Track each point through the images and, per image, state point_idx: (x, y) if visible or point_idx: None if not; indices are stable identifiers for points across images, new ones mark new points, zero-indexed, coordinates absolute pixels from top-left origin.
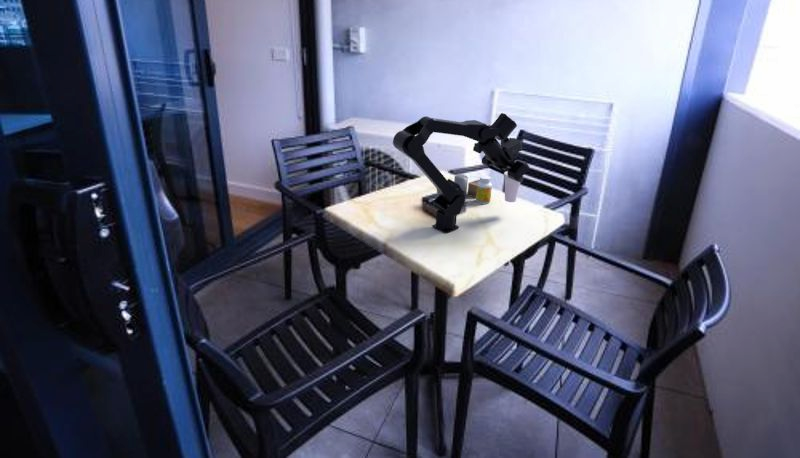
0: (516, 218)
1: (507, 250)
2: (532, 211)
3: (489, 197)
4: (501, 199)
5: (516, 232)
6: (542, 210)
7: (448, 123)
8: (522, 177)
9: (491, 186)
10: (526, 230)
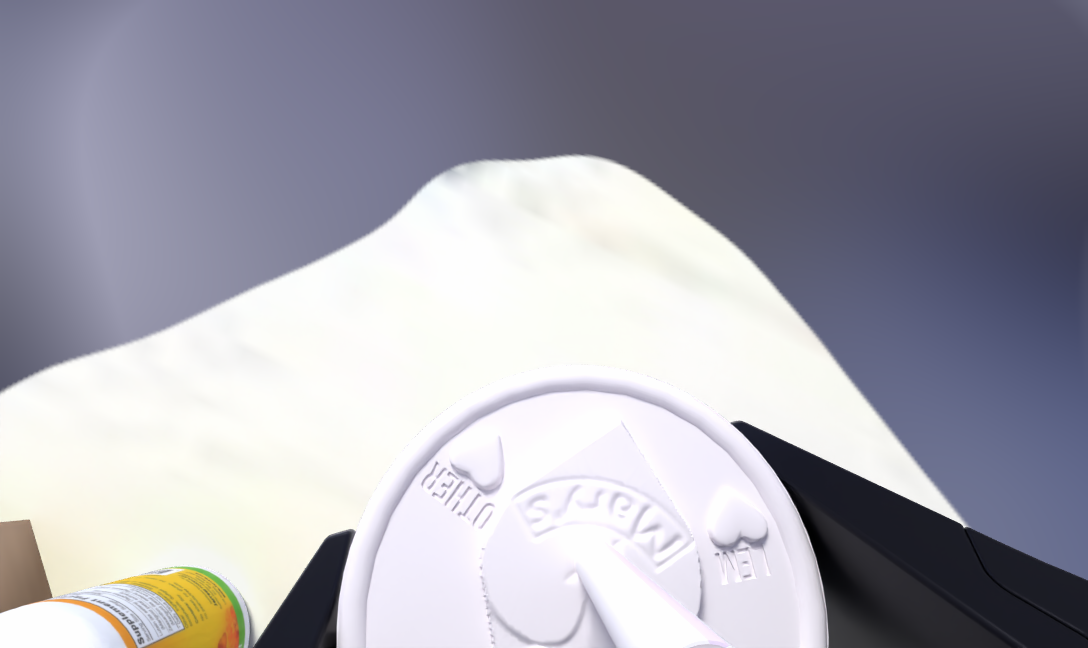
0: None
1: None
2: (502, 284)
3: (210, 612)
4: (191, 426)
5: None
6: (498, 206)
7: None
8: (843, 475)
9: (108, 632)
10: None
